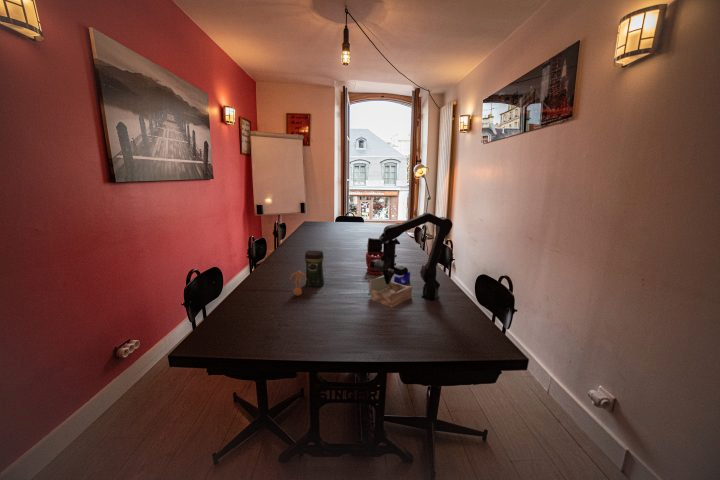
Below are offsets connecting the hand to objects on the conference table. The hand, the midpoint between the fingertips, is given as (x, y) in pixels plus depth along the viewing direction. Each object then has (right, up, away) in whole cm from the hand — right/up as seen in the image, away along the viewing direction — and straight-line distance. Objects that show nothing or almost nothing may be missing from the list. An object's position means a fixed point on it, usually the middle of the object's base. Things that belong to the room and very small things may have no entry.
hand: (387, 284), depth 142 cm
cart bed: (+1, -7, 0) cm, 7 cm away
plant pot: (-3, +1, +37) cm, 37 cm away
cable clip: (+9, -3, +19) cm, 21 cm away
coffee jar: (-37, -3, +15) cm, 40 cm away
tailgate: (-4, -4, +4) cm, 7 cm away
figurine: (-43, -5, +2) cm, 44 cm away
